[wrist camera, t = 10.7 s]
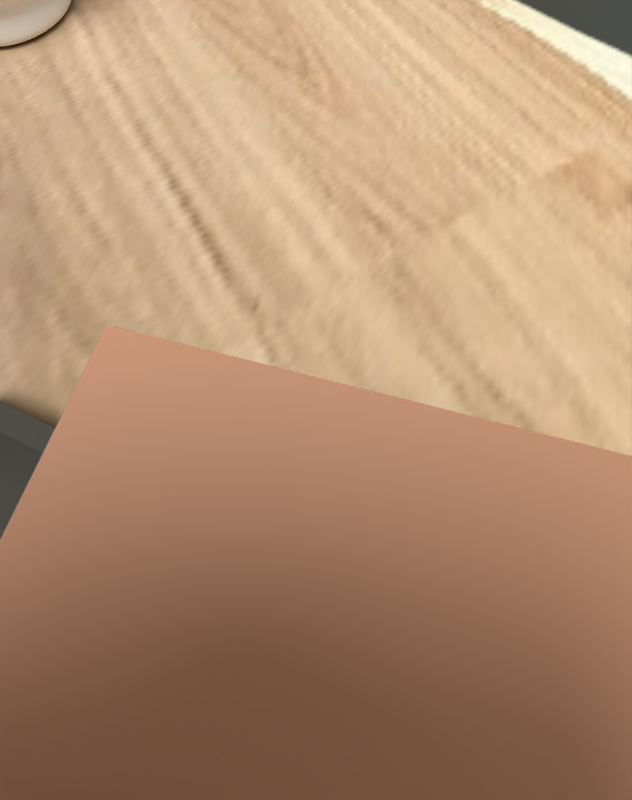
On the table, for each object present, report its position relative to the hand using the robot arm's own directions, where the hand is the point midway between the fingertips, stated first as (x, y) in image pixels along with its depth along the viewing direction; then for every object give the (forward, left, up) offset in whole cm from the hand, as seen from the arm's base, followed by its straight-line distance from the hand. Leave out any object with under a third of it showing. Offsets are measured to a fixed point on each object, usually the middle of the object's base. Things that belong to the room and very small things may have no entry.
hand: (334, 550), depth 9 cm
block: (0, +1, -7) cm, 7 cm away
